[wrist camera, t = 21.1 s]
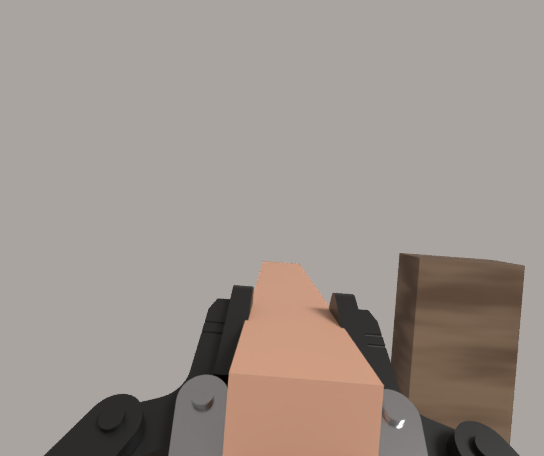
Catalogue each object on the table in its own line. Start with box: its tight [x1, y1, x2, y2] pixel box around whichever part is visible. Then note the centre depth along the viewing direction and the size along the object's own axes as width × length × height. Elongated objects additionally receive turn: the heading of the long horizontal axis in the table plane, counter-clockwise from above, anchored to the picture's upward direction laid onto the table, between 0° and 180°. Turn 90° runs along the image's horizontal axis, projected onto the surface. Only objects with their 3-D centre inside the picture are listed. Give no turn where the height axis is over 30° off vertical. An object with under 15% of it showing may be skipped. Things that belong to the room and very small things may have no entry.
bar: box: [223, 261, 384, 456], centre depth 16 cm, size 20×3×3 cm, turn 0°
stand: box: [391, 253, 525, 445], centre depth 26 cm, size 7×10×32 cm
